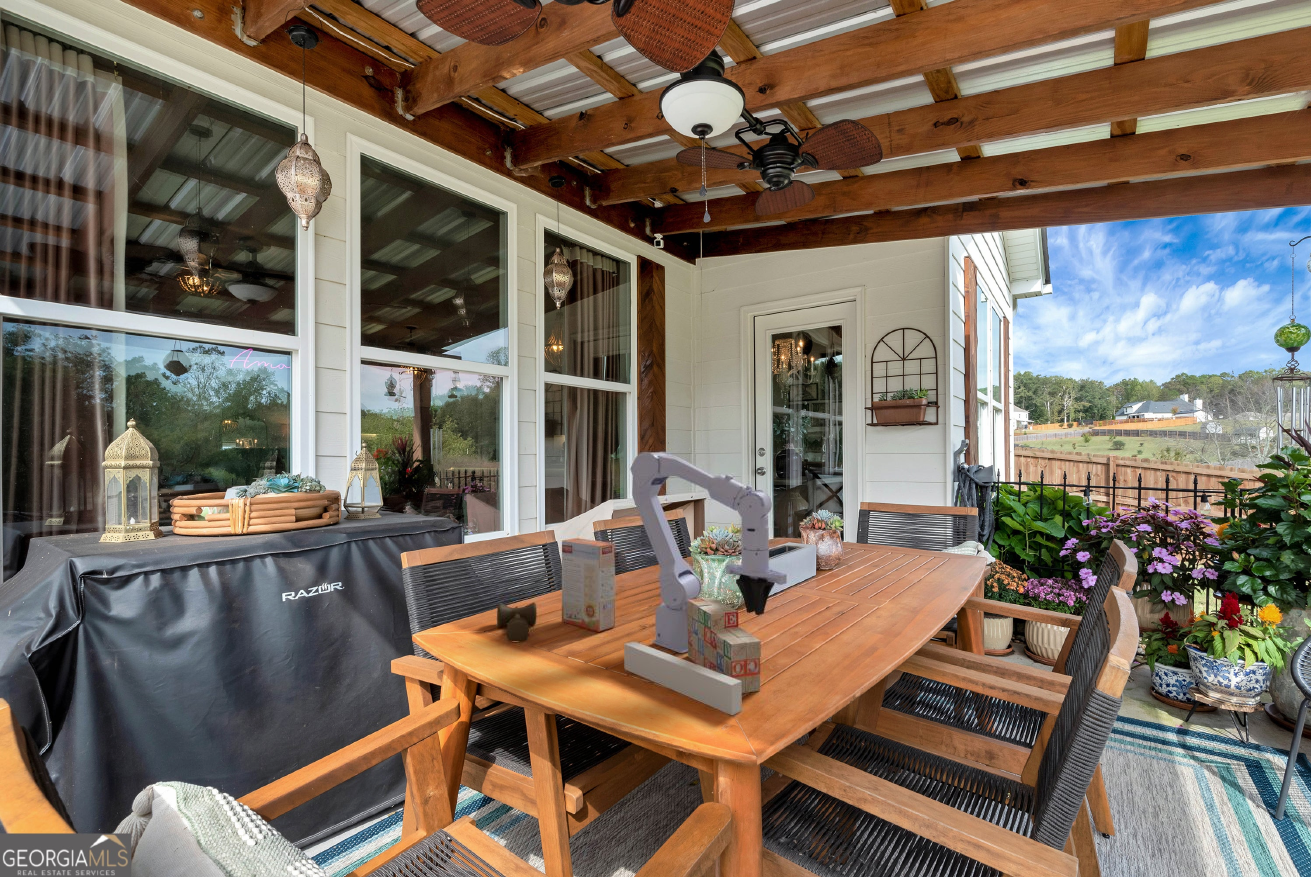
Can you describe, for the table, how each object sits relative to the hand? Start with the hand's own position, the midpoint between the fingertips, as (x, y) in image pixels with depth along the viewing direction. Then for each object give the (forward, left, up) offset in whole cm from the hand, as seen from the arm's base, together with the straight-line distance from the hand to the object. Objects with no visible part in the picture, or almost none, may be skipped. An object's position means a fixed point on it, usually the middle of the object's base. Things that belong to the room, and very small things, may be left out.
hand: (755, 612), depth 126 cm
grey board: (0, -23, -9) cm, 25 cm away
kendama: (-52, -27, -10) cm, 59 cm away
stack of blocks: (0, -11, -10) cm, 15 cm away
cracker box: (-43, -12, -10) cm, 46 cm away
